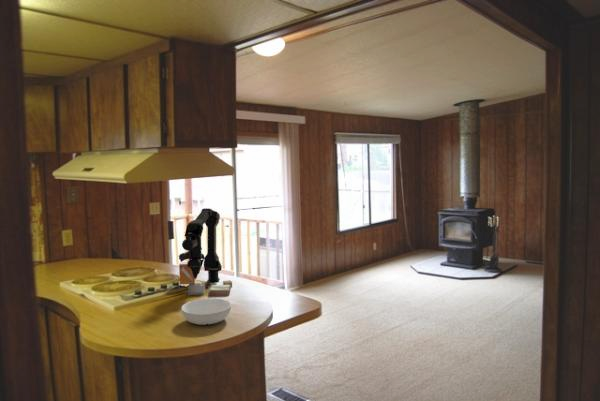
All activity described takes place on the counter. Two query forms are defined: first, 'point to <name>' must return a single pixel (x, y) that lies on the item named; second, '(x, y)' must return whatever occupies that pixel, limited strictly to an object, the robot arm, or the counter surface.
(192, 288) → the housing
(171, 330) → the counter surface
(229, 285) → the oak offcut
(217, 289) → the stand
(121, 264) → the counter surface
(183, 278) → the small box
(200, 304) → the serving bowl
